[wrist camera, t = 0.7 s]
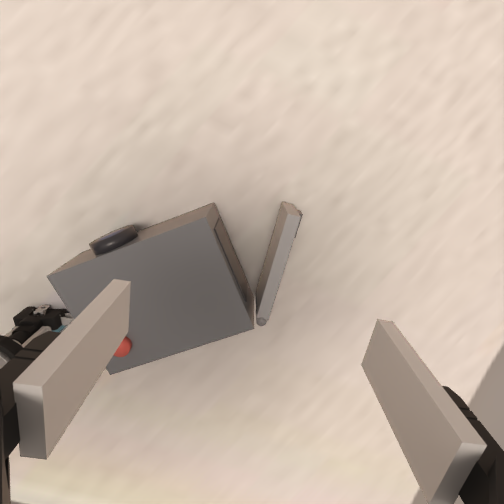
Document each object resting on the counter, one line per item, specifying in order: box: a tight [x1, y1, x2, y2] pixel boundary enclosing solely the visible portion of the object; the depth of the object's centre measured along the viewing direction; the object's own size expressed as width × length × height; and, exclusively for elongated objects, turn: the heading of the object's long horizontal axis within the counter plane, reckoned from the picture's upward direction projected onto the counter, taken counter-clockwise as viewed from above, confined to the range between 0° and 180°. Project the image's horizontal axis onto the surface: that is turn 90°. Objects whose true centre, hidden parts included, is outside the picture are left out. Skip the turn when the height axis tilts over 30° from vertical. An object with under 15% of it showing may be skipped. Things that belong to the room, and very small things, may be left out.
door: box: [256, 202, 303, 326], centre depth 33 cm, size 2×12×6 cm, turn 166°
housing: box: [47, 203, 254, 375], centre depth 33 cm, size 16×13×7 cm
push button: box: [0, 305, 74, 369], centre depth 34 cm, size 7×5×10 cm
